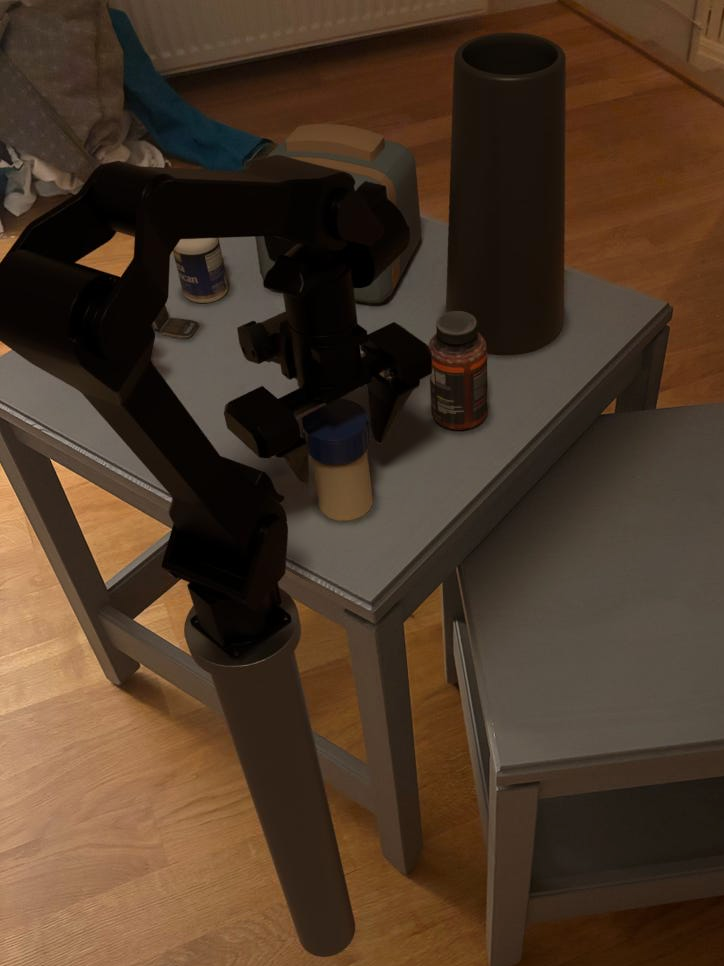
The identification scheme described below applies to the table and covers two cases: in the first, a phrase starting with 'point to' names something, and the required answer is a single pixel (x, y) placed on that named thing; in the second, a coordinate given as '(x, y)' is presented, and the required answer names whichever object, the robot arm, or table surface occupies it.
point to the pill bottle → (201, 269)
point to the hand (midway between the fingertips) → (341, 460)
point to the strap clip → (173, 325)
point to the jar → (343, 488)
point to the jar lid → (337, 432)
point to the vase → (508, 190)
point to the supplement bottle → (458, 372)
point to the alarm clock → (364, 162)
